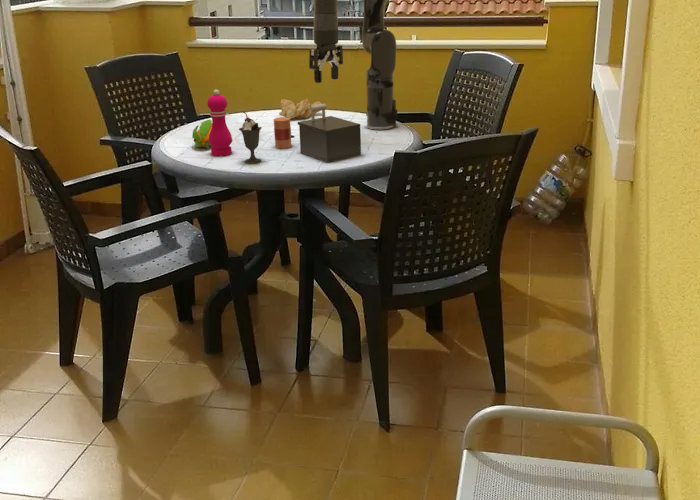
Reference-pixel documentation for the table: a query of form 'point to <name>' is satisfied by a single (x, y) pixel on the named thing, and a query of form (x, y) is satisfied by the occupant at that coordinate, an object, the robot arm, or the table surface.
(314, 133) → the open brown box
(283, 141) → the tin can
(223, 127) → the pepper mill
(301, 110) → the ginger root
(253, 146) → the sundae
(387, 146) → the table surface
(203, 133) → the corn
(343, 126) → the dark brown box lid
